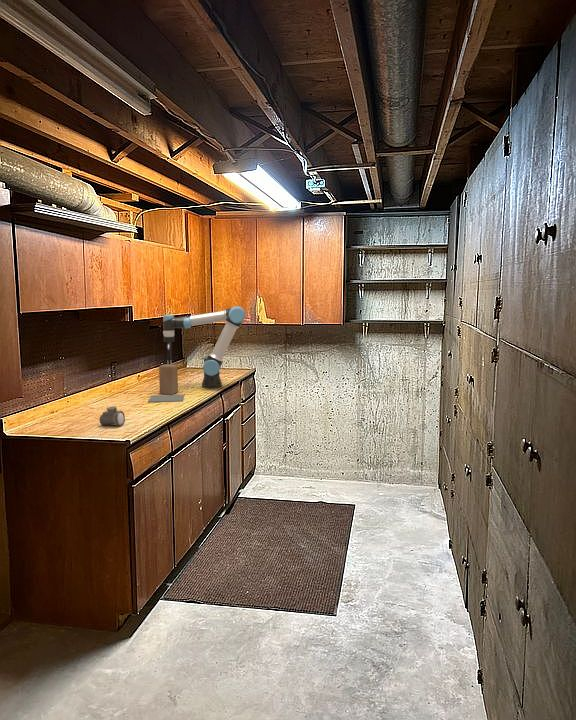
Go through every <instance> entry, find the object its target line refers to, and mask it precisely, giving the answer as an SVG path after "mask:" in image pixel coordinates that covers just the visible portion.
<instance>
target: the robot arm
mask: <svg viewBox="0 0 576 720" xmlns="http://www.w3.org/2000/svg"><path fill="white" fill-rule="evenodd" d="M245 311H246V310H245V309H244V308H243V307H241V306H232V307H230V308H225V309H224V310H220V311H219V310H218V311H213V312H208V313H207V312H206V313H201V314H194V315H188V316H187V315H186V316H181V317H175V315H174V314H165V315H163V318H162V319H163V320H162V323H163V324H162V326H163V331H162V334H163V343H165V344H166V345H165V346H166V361H167V364H173V363H172V361H173V358H172V349H173V344H172V343H174V342H175V329H190V328H191V327H193V326H199V325H200V326H201V325H206V324H213V323H214V324H215V323H220V322H225V325H224V326H223V329H222V331H221V333H220V335H219V336H218V339H217V341H216V343H215V346H213V347H214V348H213V349H212V352H211V353H209V354H208V355H206V356H203V366H202V369H203V370H202V371H203V379H202V382H201V387H202V388H205V389H206V388H209V389H210V388H211V389H213V388H221V387H223V382H222V380H221V379H222V378H221V375H220V368H221V366H222V364H223V362H224V359H223V358H224V355H225V354H226V352H227V350H228V348H229V345H230V344H231V341H232V339H233V338H234V335H235V333H236V331H237V329H239V328H240V327H241V326H242V324H243V321H245V319H246V312H245Z"/></svg>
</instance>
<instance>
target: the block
mask: <svg viewBox="0 0 576 720" xmlns="http://www.w3.org/2000/svg"><path fill="white" fill-rule="evenodd" d="M158 371H159V374H158V376H159V377H158V378H159V380H158V381H159V395H176V393H178V392H179V386H178V385H179V381H178V379H179V378H178V377H179V376H178V364H173V363H172V364H168V363H163V364H161V365H159V366H158Z"/></svg>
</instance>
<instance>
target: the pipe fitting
mask: <svg viewBox="0 0 576 720" xmlns="http://www.w3.org/2000/svg"><path fill="white" fill-rule="evenodd" d="M117 409H118V408H117V406H114V405H113V406H109V407H107V408H106V411H103V412H102V414H101V415H100V417H99V423H100V425H101V426H113V425H115V426H116V427H123V426H124V425H125V423H126V422H125V421H126V416H125V413H124V411H122V410H117Z"/></svg>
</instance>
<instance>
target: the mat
mask: <svg viewBox="0 0 576 720" xmlns="http://www.w3.org/2000/svg"><path fill="white" fill-rule="evenodd" d="M184 398H185V394H172V395H170V394H158V395H157V394H156V395H155V394H153V395H152V394H151V395H150V397H149V399H148V401H147V403H177V402H178V403H179V402H181V403H182V402H184Z"/></svg>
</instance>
